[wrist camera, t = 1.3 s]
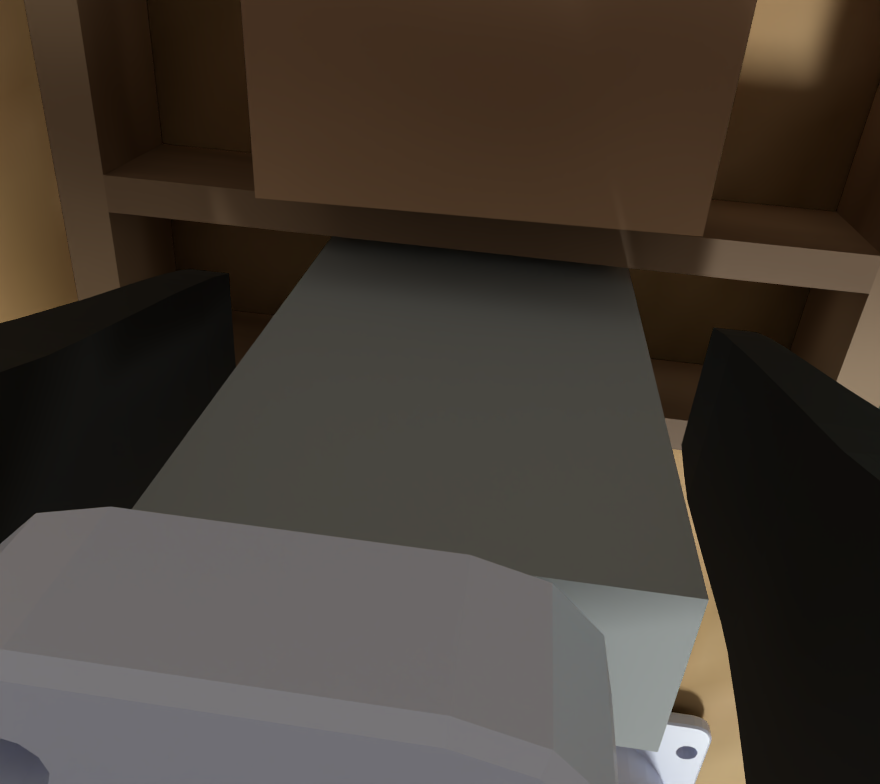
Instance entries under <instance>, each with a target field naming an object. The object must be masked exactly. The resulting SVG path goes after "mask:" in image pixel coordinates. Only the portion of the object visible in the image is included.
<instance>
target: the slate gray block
mask: <svg viewBox="0 0 880 784" xmlns="http://www.w3.org/2000/svg"><path fill="white" fill-rule="evenodd" d="M132 510H140V511H147V512H155V513H162V514H169V515H177V516H184V517H192V518H199V519H207V520H214V521H222V522H229V523H237V524H244V525H252V526H259V527H266V528H274V529H281V530H289V531H296V532H304V533H311V534H319V535H326V536H334V537H341V538H348V539H356V540H363V541H371V542H378V543H386V544H393V545H401V546H408V547H416V548H423V549H431V550H438V551H445V552H453V553H460V554H468V555H472V556H475V557H478V558H481V559H484V560H487V561H490V562H492V563H495V564H498V565H501V566H504V567H507V568H510V569H513V570H516V571H519V572H522V573H524V574H527V575H530V576H533V577H536V578H539V579H542V580H545V581H548V582H551V583H553V584H554V585H555V586H556V587H557V588H558V589H559V590H560V591H561V592H562V593H563V594H564V595H565V596H566V597H567V598H568V599H569V600H570V601H571V602H572V603H573V604H574V605H575V606H576V607H577V608H578V609H579V610H580V611H581V612H582V613H583V614H584V615H585V617H586V618H587V619H588V620H589V621H590V622H591V623H592V624H593V625H594V626H595V627H596V628H597V629H598V630H599V631H600V632H601V633H602V634H603V635H604V639H605V647H606V654H607V662H608V670H609V678H610V685H611V694H612V706H613V718H614V730H615V742H616V746H620V747H627V748H634V749H640V750H647V751H654V752H658V750H659V747H660V744H661V741H662V738H663V735H664V732H665V729H666V726H667V723H668V720H669V717H670V714H671V711H672V708H673V705H674V702H675V699H676V696H677V693H678V690H679V687H680V684H681V681H682V678H683V675H684V672H685V669H686V666H687V663H688V660H689V657H690V654H691V651H692V648H693V645H694V642H695V639H696V636H697V633H698V630H699V627H700V624H701V621H702V618H703V615H704V612H705V609H706V606H707V603H708V600H709V599H708V595H707V591H706V587H705V583H704V579H703V575H702V571H701V566H700V562H699V558H698V554H697V550H696V546H695V542H694V537H693V533H692V529H691V525H690V521H689V517H688V513H687V509H686V504H685V500H684V496H683V492H682V488H681V484H680V480H679V475H678V471H677V467H676V463H675V459H674V455H673V451H672V447H671V442H670V438H669V434H668V430H667V426H666V422H665V418H664V413H663V409H662V405H661V401H660V397H659V393H658V389H657V385H656V380H655V376H654V372H653V368H652V364H651V360H650V356H649V351H648V347H647V343H646V339H645V335H644V331H643V327H642V322H641V318H640V314H639V310H638V306H637V302H636V298H635V294H634V289H633V285H632V281H631V277H630V273H629V269H628V268H624V267H614V266H605V265H596V264H586V263H577V262H568V261H558V260H549V259H540V258H531V257H521V256H512V255H503V254H493V253H484V252H475V251H465V250H456V249H447V248H437V247H428V246H419V245H410V244H400V243H391V242H382V241H372V240H363V239H354V238H344V237H335V236H332V237H331V238H330V240H329V241H328V243H327V244H326V245H325V247H324V248H323V249H322V251H321V252H320V253H319V255H318V256H317V258H316V259H315V260H314V262H313V263H312V264H311V266H310V267H309V268H308V270H307V271H306V273H305V274H304V275H303V277H302V278H301V279H300V281H299V282H298V283H297V285H296V286H295V287H294V289H293V290H292V292H291V293H290V294H289V296H288V297H287V298H286V300H285V301H284V302H283V304H282V305H281V307H280V308H279V309H278V311H277V312H276V313H275V315H274V316H273V317H272V319H271V320H270V322H269V323H268V324H267V326H266V327H265V328H264V330H263V331H262V332H261V334H260V335H259V337H258V338H257V339H256V341H255V342H254V343H253V345H252V346H251V347H250V349H249V350H248V351H247V353H246V354H245V356H244V357H243V358H242V360H241V361H240V362H239V364H238V365H237V366H236V368H235V369H234V371H233V372H232V373H231V375H230V376H229V377H228V379H227V380H226V381H225V383H224V384H223V386H222V387H221V388H220V390H219V391H218V392H217V394H216V395H215V396H214V398H213V399H212V401H211V402H210V403H209V405H208V406H207V407H206V409H205V410H204V411H203V413H202V414H201V415H200V417H199V418H198V420H197V421H196V422H195V424H194V425H193V426H192V428H191V429H190V430H189V432H188V433H187V435H186V436H185V437H184V439H183V440H182V441H181V443H180V444H179V445H178V447H177V448H176V450H175V451H174V452H173V454H172V455H171V456H170V458H169V459H168V460H167V462H166V463H165V464H164V466H163V467H162V469H161V470H160V471H159V473H158V474H157V475H156V477H155V478H154V479H153V481H152V482H151V484H150V485H149V486H148V488H147V489H146V490H145V492H144V493H143V494H142V496H141V497H140V499H139V500H138V501H137V503H136V504H135V505H134V507H133V508H132Z"/></svg>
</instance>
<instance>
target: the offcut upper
mask: <svg viewBox="0 0 880 784" xmlns="http://www.w3.org/2000/svg"><path fill="white" fill-rule="evenodd" d="M756 3H757V0H241V13H242V26H243V40H244V53H245V67H246V80H247V93H248V107H249V120H250V134H251V147H252V161H253V174H254V188H255V198H262V199H273V200H285V201H297V202H308V203H320V204H331V205H343V206H354V207H366V208H378V209H389V210H401V211H412V212H424V213H435V214H447V215H459V216H470V217H482V218H493V219H505V220H517V221H528V222H540V223H551V224H563V225H574V226H586V227H598V228H609V229H621V230H632V231H644V232H655V233H667V234H679V235H690V236H702V237H703V233H704V229H705V224H706V220H707V216H708V211H709V207H710V203H711V198H712V194H713V190H714V185H715V181H716V176H717V172H718V168H719V163H720V159H721V155H722V150H723V146H724V142H725V137H726V133H727V129H728V124H729V120H730V116H731V111H732V107H733V103H734V98H735V94H736V90H737V85H738V81H739V76H740V72H741V68H742V63H743V59H744V55H745V50H746V46H747V42H748V37H749V33H750V29H751V24H752V20H753V16H754V11H755V7H756Z"/></svg>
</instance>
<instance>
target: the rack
mask: <svg viewBox="0 0 880 784" xmlns="http://www.w3.org/2000/svg"><path fill="white" fill-rule="evenodd" d="M24 3H25V9H26V14H27V20H28V25H29V31H30V36H31V42H32V47H33V53H34V58H35V64H36V69H37V75H38V81H39V86H40V92H41V97H42V103H43V108H44V114H45V119H46V125H47V130H48V136H49V141H50V147H51V152H52V158H53V163H54V169H55V174H56V180H57V185H58V191H59V196H60V202H61V207H62V213H63V218H64V224H65V229H66V235H67V240H68V246H69V251H70V257H71V262H72V268H73V273H74V279H75V284H76V290H77V295H78V301H80V300H83V299H86V298H89V297H92V296H95V295H98V294H101V293H104V292H107V291H111V290H114V289H117V288H120V287H123V286H126V285H129V284H132V283H135V282H138V281H141V280H145V279H148V278H151V277H155V276H158V275H162V274H166V273H170V272H174V271H176V265H175V256H174V246H173V237H172V228H171V219H177V220H186V221H195V222H205V223H214V224H223V225H233V226H242V227H251V228H261V229H270V230H279V231H289V232H298V233H307V234H316V235H326V236H335V237H344V238H354V239H363V240H372V241H382V242H391V243H400V244H410V245H419V246H428V247H437V248H447V249H456V250H465V251H475V252H484V253H493V254H503V255H512V256H521V257H531V258H540V259H549V260H558V261H568V262H577V263H586V264H596V265H605V266H614V267H624V268H633V269H642V270H652V271H661V272H670V273H679V274H689V275H698V276H707V277H717V278H726V279H735V280H745V281H754V282H763V283H773V284H782V285H791V286H800V287H810V288H811V289H810V292H809V295H808V298H807V301H806V304H805V307H804V310H803V313H802V316H801V319H800V322H799V325H798V328H797V331H796V334H795V337H794V340H793V343H792V346H791V349H790V351H791V352H793V353H795V354H796V355H798V356H799V357H801V358H802V359H804V360H805V361H807V362H808V363H810V364H811V365H813V366H814V367H816V368H817V369H819V370H820V371H822V372H823V373H824V374H826V375H827V376H829V377H830V378H832V379H834V380H835V381H837V382H838V383H840V384H841V385H843V386H844V387H846V388H847V389H849V390H850V391H852V392H853V393H855V394H856V395H858V396H860V397H861V398H863V399H864V400H866V401H868V402H869V403H871V404H872V405H874V406H876V407H877V408H879V406H880V82H879V85H878V88H877V91H876V94H875V97H874V100H873V103H872V106H871V109H870V112H869V115H868V118H867V121H866V124H865V127H864V130H863V133H862V136H861V139H860V142H859V145H858V148H857V151H856V154H855V157H854V160H853V163H852V166H851V169H850V172H849V175H848V178H847V181H846V184H845V187H844V190H843V193H842V196H841V199H840V202H839V205H838V208H837V211H836V212H833V211H823V210H813V209H804V208H794V207H784V206H774V205H764V204H754V203H744V202H734V201H724V200H714V199H711V203H710V207H709V211H708V216H707V220H706V224H705V229H704V233H703V237H702V236H690V235H679V234H667V233H655V232H644V231H632V230H621V229H609V228H598V227H586V226H574V225H563V224H551V223H540V222H528V221H517V220H505V219H493V218H482V217H470V216H459V215H447V214H435V213H424V212H412V211H401V210H389V209H378V208H366V207H354V206H343V205H331V204H320V203H308V202H297V201H285V200H273V199H262V198H255V188H254V174H253V161H252V153H247V152H237V151H227V150H217V149H207V148H197V147H187V146H177V145H167V144H162V138H161V129H160V119H159V110H158V101H157V92H156V83H155V74H154V65H153V56H152V47H151V38H150V29H149V20H148V11H147V2H146V0H24ZM273 316H274V315H267V314H258V313H249V312H241V311H232V323H233V336H234V349H235V363H236V366H237V365H238V364H239V362H240V361H241V360H242V358H243V357H244V356H245V354H246V353H247V351H248V350H249V349H250V347H251V346H252V345H253V343H254V342H255V341H256V339H257V338H258V337H259V335H260V334H261V332H262V331H263V330H264V328H265V327H266V326H267V324H268V323H269V322H270V320H271V319H272V317H273ZM650 360H651V364H652V368H653V372H654V376H655V380H656V385H657V389H658V393H659V397H660V401H661V405H662V409H663V413H664V418H665V422H666V426H667V430H668V434H669V438H670V442H671V447H672V449H677V450H682V446H681V444H682V441H683V437H684V433H685V430H686V426H687V422H688V419H689V415H690V411H691V408H692V404H693V400H694V397H695V393H696V390H697V386H698V382H699V379H700V375H701V371H702V368H703V365H701V364H692V363H683V362H675V361H666V360H657V359H650Z"/></svg>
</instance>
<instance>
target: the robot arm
mask: <svg viewBox="0 0 880 784" xmlns="http://www.w3.org/2000/svg"><path fill="white" fill-rule="evenodd" d="M235 368H236V363H235V349H234V336H233V323H232V310H231V297H230V283H229V273H220V272H211V271H202V270H193V269H187V270H179V271H174V272H170V273H166V274H162V275H158V276H155V277H151V278H148V279H145V280H141V281H138V282H135V283H132V284H129V285H126V286H123V287H120V288H117V289H114V290H111V291H107V292H104V293H101V294H98V295H95V296H92V297H89V298H86V299H83V300H80V301H77V302H73V303H70V304H66V305H63V306H59V307H56V308H53V309H49V310H46V311H42V312H39V313H36V314H32V315H29V316H25V317H22V318H18V319H15V320H11V321H7V322H3V323H0V784H695V782H696V779H697V777H698V774H699V771H700V769H701V766H702V764H703V761H704V758H705V756H706V753H707V751H708V748H709V746H710V743H711V732H710V728H709V725H708V723H707V722H706V721H705V720H704V719H702V718H700V717H697V716H694V715H688V714H681V713H674V712H671V714H670V717H669V720H668V723H667V726H666V729H665V732H664V735H663V738H662V741H661V744H660V747H659V750H658V752H654V751H647V750H640V749H634V748H627V747H620V746H616V742H615V730H614V718H613V706H612V694H611V685H610V678H609V670H608V662H607V654H606V647H605V639H604V635H603V634H602V633H601V632H600V631H599V630H598V629H597V628H596V627H595V626H594V625H593V624H592V623H591V622H590V621H589V620H588V619H587V618H586V617H585V615H584V614H583V613H582V612H581V611H580V610H579V609H578V608H577V607H576V606H575V605H574V604H573V603H572V602H571V601H570V600H569V599H568V598H567V597H566V596H565V595H564V594H563V593H562V592H561V591H560V590H559V589H558V588H557V587H556V586H555V585H554V584H553V583H551V582H548V581H545V580H542V579H539V578H536V577H533V576H530V575H527V574H524V573H522V572H519V571H516V570H513V569H510V568H507V567H504V566H501V565H498V564H495V563H492V562H490V561H487V560H484V559H481V558H478V557H475V556H472V555H468V554H460V553H453V552H445V551H438V550H431V549H423V548H416V547H408V546H401V545H393V544H386V543H378V542H371V541H363V540H356V539H348V538H341V537H334V536H326V535H319V534H311V533H304V532H296V531H289V530H281V529H274V528H266V527H259V526H252V525H244V524H237V523H229V522H222V521H214V520H207V519H199V518H192V517H184V516H177V515H169V514H162V513H155V512H147V511H140V510H132V508H133V507H134V505H135V504H136V503H137V501H138V500H139V499H140V497H141V496H142V494H143V493H144V492H145V490H146V489H147V488H148V486H149V485H150V484H151V482H152V481H153V479H154V478H155V477H156V475H157V474H158V473H159V471H160V470H161V469H162V467H163V466H164V464H165V463H166V462H167V460H168V459H169V458H170V456H171V455H172V454H173V452H174V451H175V450H176V448H177V447H178V445H179V444H180V443H181V441H182V440H183V439H184V437H185V436H186V435H187V433H188V432H189V430H190V429H191V428H192V426H193V425H194V424H195V422H196V421H197V420H198V418H199V417H200V415H201V414H202V413H203V411H204V410H205V409H206V407H207V406H208V405H209V403H210V402H211V401H212V399H213V398H214V396H215V395H216V394H217V392H218V391H219V390H220V388H221V387H222V386H223V384H224V383H225V381H226V380H227V379H228V377H229V376H230V375H231V373H232V372H233V371H234V369H235ZM681 446H682V457H683V467H684V477H685V485H686V493H687V500H688V504H689V508H690V512H691V516H692V519H693V523H694V527H695V531H696V534H697V538H698V542H699V545H700V549H701V552H702V556H703V560H704V563H705V567H706V570H707V574H708V577H709V581H710V584H711V588H712V592H713V595H714V599H715V602H716V606H717V609H718V613H719V617H720V620H721V624H722V629H723V633H724V637H725V642H726V646H727V651H728V657H729V664H730V670H731V677H732V683H733V690H734V696H735V703H736V710H737V716H738V724H739V732H740V740H741V748H742V756H743V763H744V771H745V779H746V784H880V409H879V408H877V407H876V406H874V405H872V404H871V403H869V402H868V401H866V400H864V399H863V398H861V397H860V396H858V395H856V394H855V393H853V392H852V391H850V390H849V389H847V388H846V387H844V386H843V385H841V384H840V383H838V382H837V381H835V380H834V379H832V378H830V377H829V376H827V375H826V374H824V373H823V372H822V371H820V370H819V369H817V368H816V367H814V366H813V365H811V364H810V363H808V362H807V361H805V360H804V359H802V358H801V357H799V356H798V355H796V354H795V353H793V352H791V351H790V350H788V349H787V348H785V347H784V346H782V345H780V344H779V343H777V342H775V341H774V340H772V339H770V338H768V337H766V336H764V335H762V334H760V333H757V332H749V331H740V330H731V329H722V328H713V331H712V335H711V338H710V342H709V346H708V349H707V353H706V357H705V360H704V364H703V368H702V371H701V375H700V379H699V382H698V386H697V390H696V393H695V397H694V400H693V404H692V408H691V411H690V415H689V419H688V422H687V426H686V430H685V433H684V437H683V441H682V444H681Z"/></svg>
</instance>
